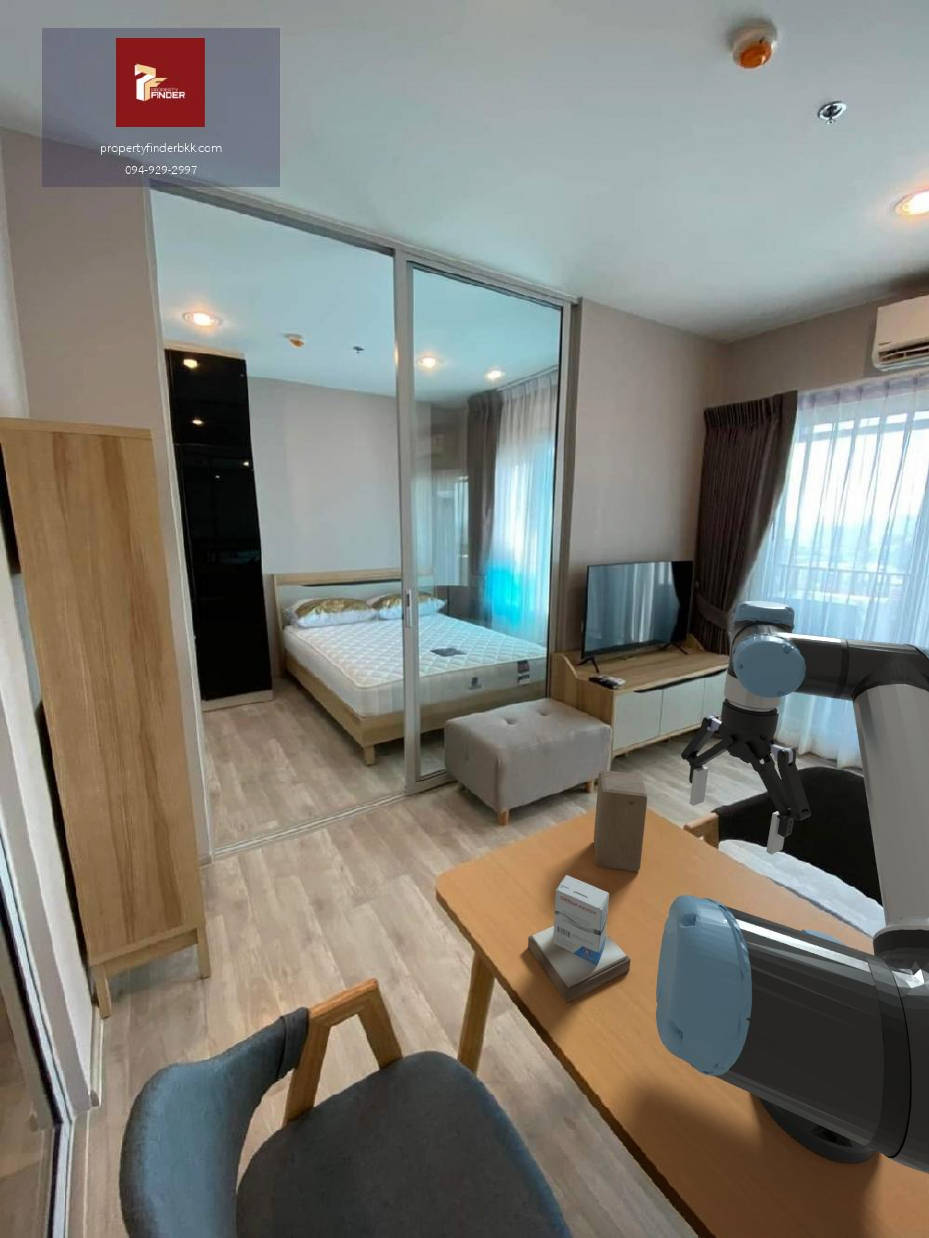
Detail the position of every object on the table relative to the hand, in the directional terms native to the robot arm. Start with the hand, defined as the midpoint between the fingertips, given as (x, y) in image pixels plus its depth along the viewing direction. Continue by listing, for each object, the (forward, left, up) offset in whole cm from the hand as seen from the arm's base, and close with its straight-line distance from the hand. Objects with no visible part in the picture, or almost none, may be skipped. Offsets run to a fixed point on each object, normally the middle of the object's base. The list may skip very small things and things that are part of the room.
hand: (732, 825), depth 80 cm
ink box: (+14, +18, -29) cm, 37 cm away
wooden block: (+32, -8, -32) cm, 46 cm away
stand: (+14, +18, -32) cm, 39 cm away
